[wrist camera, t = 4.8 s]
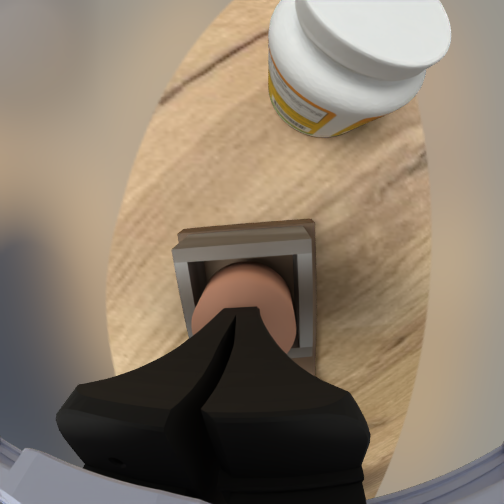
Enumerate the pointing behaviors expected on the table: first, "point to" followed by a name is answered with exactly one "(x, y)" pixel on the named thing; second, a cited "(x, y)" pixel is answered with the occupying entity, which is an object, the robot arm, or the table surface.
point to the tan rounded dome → (249, 299)
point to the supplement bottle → (350, 59)
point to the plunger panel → (260, 251)
